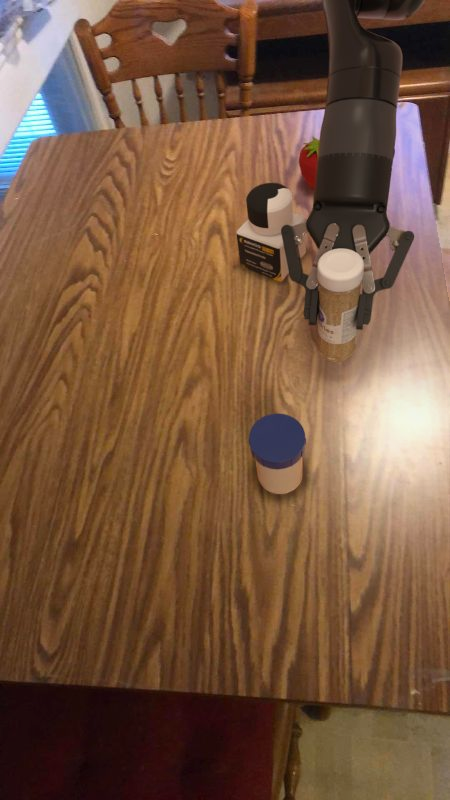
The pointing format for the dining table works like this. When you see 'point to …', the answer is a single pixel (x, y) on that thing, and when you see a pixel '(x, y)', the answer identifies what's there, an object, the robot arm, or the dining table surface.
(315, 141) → the strawberry
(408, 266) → the dining table surface
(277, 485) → the jar
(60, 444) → the dining table surface
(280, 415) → the jar lid
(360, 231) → the robot arm
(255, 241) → the medicine bottle
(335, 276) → the sprinkles bottle
